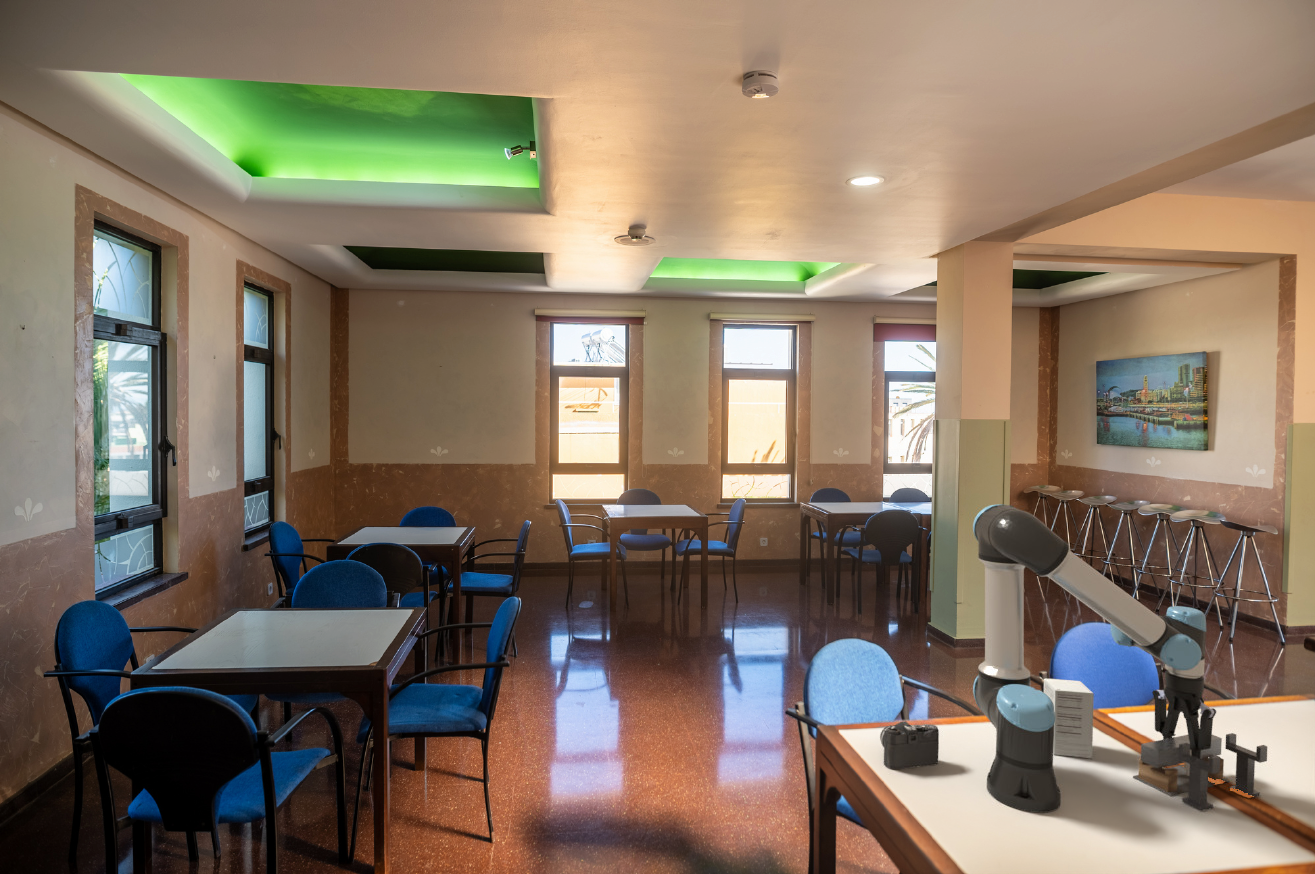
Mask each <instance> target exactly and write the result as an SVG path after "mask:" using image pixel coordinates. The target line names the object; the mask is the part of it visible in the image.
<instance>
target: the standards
mask: <svg viewBox="0 0 1315 874" xmlns="http://www.w3.org/2000/svg"><path fill="white" fill-rule="evenodd" d="M1224 748H1225V750H1227V751H1230V752H1232V753H1235V754H1236V761H1235V764H1236V765H1235V784H1234V785H1231V786H1228V788H1233V789H1234V788H1235V789H1239V790H1241V791H1243V792H1244V793H1248V795H1252V796H1254V798H1257V797H1261V795H1260V794H1261V792H1260V791H1257V790H1255V789H1254V788H1255V770H1256V769H1255V768H1256V766H1255V765H1256V762H1257V763H1260V764H1261V763H1265V762H1267V761H1268V746H1267V745H1265V744H1261V745H1257V746H1256V748H1255V749H1256V751H1254V750H1251V749H1249V748H1246V747H1243V746H1241V745H1239V744H1237V734H1236V733H1233V732H1232V733H1228V734H1225V747H1224ZM1208 758H1209V763H1208V762H1205V761H1203V760H1201V759H1198V758H1196V757H1194V756H1191V755H1190V744H1188V743H1183V744H1179V759H1180V760H1182V761H1184V762H1186V763H1189V764H1190V766H1189V792H1188V793H1187V794H1188V796H1187V797H1183V798H1181V802H1182V803H1183V804H1186V805H1187V806H1189V807H1191V808H1193V809H1195V810H1197V811H1199V812H1203V811H1207V810H1211V809H1214V804H1213V803H1211V802H1208V788H1207V785H1208V772H1209V773H1211V774H1215V773H1219V772H1220V758H1221V756H1220V755H1216V756H1211V757H1208ZM1237 791H1238V790H1237Z"/></svg>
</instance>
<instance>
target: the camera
mask: <svg viewBox="0 0 1315 874" xmlns="http://www.w3.org/2000/svg"><path fill="white" fill-rule="evenodd" d="M939 732H940V731H939V728H938V726H937V725H935V724H927V723H924V726H922V725H920V724H914V725H912V724H910V723H908V722H907V721H906V720H905V721H904V720H903V721H900V722H898V723H896V724H893V725H892V724H891V725H887V726H885V727H884V728H882V730H881V732H880V735H879V738H880V739H879V740H880V743H881V746H882V747H883V766H885V767H886V768H888V769H890V770H891V769H892V770H900V769H910V768H918V767H917V766H920V767H927V765H929V766H936V765H938V763H939V750H940V749H939V748H940V746H939V745H940V744H939V743H940V742H939V737H940V736H939ZM935 764H936V765H935Z"/></svg>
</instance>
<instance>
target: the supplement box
mask: <svg viewBox="0 0 1315 874" xmlns="http://www.w3.org/2000/svg"><path fill="white" fill-rule="evenodd" d="M1043 693H1045V694H1046V695H1047V696H1048V697H1049V698H1050V699H1051V700H1052V702H1053V704H1054V712H1055V723H1054V748H1053V755H1054V756H1055V755H1056V756H1066V757H1067V756H1068V757H1073V758H1074V757H1075V758H1076V757H1077V758H1085V759H1086V758H1087V759H1092V758H1093V741H1094V740H1093V739H1094V737H1093V733H1094V732H1093V729H1094V701H1095V700H1094V697H1095V696H1094V695H1095V693H1094V692H1093V691H1091V690H1090V689H1089V688H1088V687H1087V686H1086V685H1085V684H1084V683H1083V682H1082V681H1080V680H1072V679H1071V680H1069V679H1058V678H1044V679H1043Z"/></svg>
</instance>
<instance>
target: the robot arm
mask: <svg viewBox="0 0 1315 874" xmlns="http://www.w3.org/2000/svg"><path fill="white" fill-rule="evenodd" d="M972 523H973V524H972V531H973V535H974V537H975V539H976V541H977V543H978V544H977V545H978V547H977V548H978V560H979V561H980V563H982V564H983V565H984V660H983V662H981V663H980V664H979V665H978V673H977V674H978V675H977V676H976V678H975V680H974V681H973V684H972V685H973V687H972V692H973V697H974V700H975V703H976V705H977V707H978V709H979V710H980V711H981V712H982V714H983V715H985V717H986V718H987V719H988V721H989V722H991V724H992V726H993V727H994V728H995V729H996V730H995V732H996V733H995V738H996V740H995V741H996V744H995V757H994V759H993V762H992V763H991V766H990V770H989V772H988V773H987V775H986V790H987V792H988V793H989V794H990V795H991V797H992V798H994V799H996V800H997V801H999V803H1000V802H1001V803H1002V804H1005V805H1007V806H1009V807H1011V808H1015V809H1018V810H1022V811H1026V812H1033V813H1049V812H1054V811H1056V810H1058V809H1059V808H1060V807H1061V803H1062V793H1061V792H1062V791H1061V789H1060V787H1059V786H1058V782H1057V778H1056V774H1055V770H1054V754H1053V748H1054V723H1055V712H1054V704H1053V702H1052V700H1051V699H1050V698H1049V697H1048V696H1047V695H1046V694H1045V693H1044V691H1043V690H1039V689H1036V688H1035V687H1033V686H1031V685H1032V683H1031V678H1032V677H1031V671H1030V670H1029V669H1028V668H1027V667H1026V666H1025V664H1024V663H1025V662H1024V654H1025V653H1024V647H1025V646H1024V645H1025V644H1024V641H1025V640H1024V636H1025V635H1024V632H1025V631H1024V628H1025V627H1024V619H1025V616H1024V615H1025V613H1024V609H1025V607H1024V605H1025V604H1024V601H1025V599H1024V597H1025V595H1024V590H1025V589H1024V584H1025V582H1024V580H1025V578H1024V575H1025V574H1024V573H1025V572H1024V571H1025V568H1027V569H1029V570H1030V571H1032V572H1033V573H1034V574H1036V575H1037V576H1038V577H1042V578H1043V577H1047V578H1048V579H1051V580H1052V581H1053V582H1054V583H1055V584H1057V585H1059V586H1060V587H1061V588H1063V589H1064V590H1065V591H1066V592H1067V593H1069V594H1071V595H1072V596H1073V597H1074V598H1076V600H1079V601H1080V602H1081V603H1083V604H1084V605H1085V606H1087V607H1088V608H1089V609H1091V610H1092V611H1094V613H1096V614H1097V615H1098V616H1100V617H1101V618H1103V619H1104V620H1106V621H1107V622H1108V623H1109V624H1110V634H1111V637H1112V639H1113V641H1114V642H1115V643H1116V644H1118V645H1119V646H1125V647H1129V648H1131V647H1134V648H1135V647H1137V648H1139V649H1140V650H1142V651H1143V652H1146V654H1148V655H1150V656H1153V657H1154V658H1156V659H1158V660H1159V661H1161V662H1162V663H1164V668H1165V669H1166V670H1165V671H1164V686H1165V687H1164V689H1156V690H1155V689H1154V690H1153V691H1152V692H1151V693H1152V697H1153V699H1154V730H1155V732H1157V733H1160V734H1161V736H1163V737H1162V738H1163V739H1162V740H1164V739H1169V738H1174V737H1175V736H1176V734H1175V732H1176V728H1177V725H1178V721H1179V718H1180V717H1179V716H1180V714H1181V713H1183V718H1184V719H1185V723H1186V729H1187V735H1188V736H1189V742H1190V755H1191V756H1194V757H1196V758H1198V759H1201V750H1205V749H1210V748H1211V737H1212V735H1213V733H1212V732H1213V722H1214V718H1215V716H1216V714H1217V710H1216V709H1215V708H1214V707H1213V708H1212V707H1211V708H1210V706H1208V705H1207V704H1205V701H1204V698H1203V694H1204V689H1205V687H1204V685H1205V678H1204V677H1203V676H1204V675H1205V661H1206V659H1205V656H1206V655H1205V654H1206V638H1207V637H1206V636H1207V632H1208V631H1207V621H1206V615H1205V613H1204V612H1203V611H1201V610H1199V609H1196V608H1194V607H1188V606H1181V605H1179V606H1178V605H1174V606H1169V607H1168V608H1167V609H1166V610H1167V611H1166V614H1165V615H1157V614H1156V613H1154V612H1153V611H1151V609H1149V608H1148V607H1146V605H1143V604H1142V603H1141V602H1139V601H1138V600H1137V599H1135V598H1134V597H1133V596H1131V595H1130V594H1129V593H1128V592H1126V591H1125V590H1124V589H1122V588H1121V587H1120V586H1118V585H1116V584H1115V583H1114V582H1112V581H1111V580H1110V579H1109V578H1107V577H1106V576H1105V575H1103V574H1102V573H1100V572H1099V571H1098V570H1097V569H1095V568H1093V567H1092V566H1091V565H1090V564H1089V563H1087V562H1086V561H1084V560H1083V559H1081V558H1080V557H1079V556H1077V555H1076V554H1075V553H1073V552H1072V551H1071V547H1070V546H1071V545H1070V544H1069V543H1068V542H1066V541H1065V540H1064V539H1062V538H1061V537H1060V536H1059V535H1057V533H1055V532H1054V531H1053V530H1051V529H1050V528H1049V527H1048V526H1047V525H1046V524H1045V523H1043V521H1041V520H1040V519H1039V518H1038V517H1036V516H1035V515H1033V514H1032V513H1030V512H1028V511H1025V510H1022V509H1019V508H1016V507H1014V506H1013V505H1011V504H1001V503H1000V504H999V503H998V504H991V505H987V506H986V507H983V508H982V510H980V511H979V512H978V513H977V515H976V516H975V518H974V520H973V522H972ZM1167 701H1168V706H1167ZM1199 710H1200V712H1199ZM1199 713H1200V715H1201V716H1200V715H1199ZM1199 717H1200V720H1199ZM1199 721H1200V722H1199ZM1189 766H1190V764H1189V763H1186V773H1185V774H1186V775H1188V776H1189ZM1170 767H1174V765H1171V766H1167V768H1170Z"/></svg>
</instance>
